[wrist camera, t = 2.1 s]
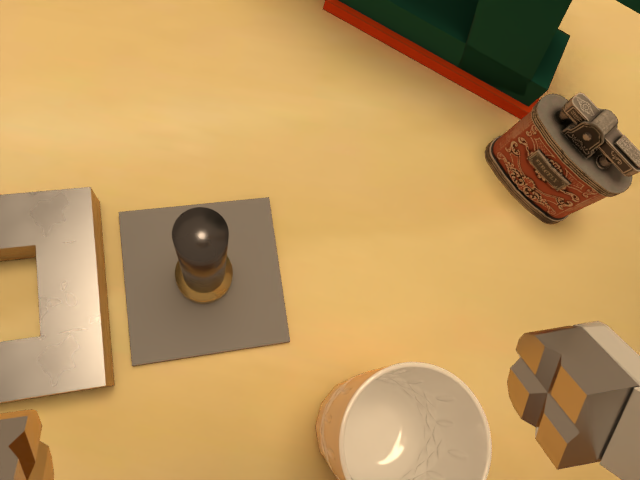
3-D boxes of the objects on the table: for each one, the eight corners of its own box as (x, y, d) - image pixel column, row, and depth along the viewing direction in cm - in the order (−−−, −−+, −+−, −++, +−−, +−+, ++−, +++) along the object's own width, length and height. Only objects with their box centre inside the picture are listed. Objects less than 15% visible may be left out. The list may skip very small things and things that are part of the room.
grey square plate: (268, 199, 40) (268, 197, 40) (289, 341, 38) (290, 341, 37) (119, 214, 38) (118, 212, 37) (133, 365, 36) (132, 365, 35)
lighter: (475, 156, 44) (548, 93, 34) (503, 131, 45) (581, 63, 35) (547, 233, 44) (641, 191, 34) (573, 206, 45) (672, 158, 35)
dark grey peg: (241, 265, 38) (253, 219, 27) (215, 313, 37) (216, 285, 26) (193, 240, 38) (185, 183, 27) (166, 288, 37) (145, 249, 26)
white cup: (408, 505, 37) (477, 548, 27) (292, 475, 36) (321, 509, 26) (432, 384, 39) (503, 384, 30) (323, 353, 38) (360, 343, 29)
